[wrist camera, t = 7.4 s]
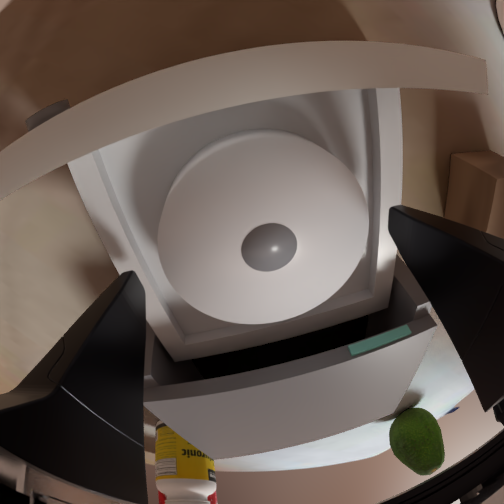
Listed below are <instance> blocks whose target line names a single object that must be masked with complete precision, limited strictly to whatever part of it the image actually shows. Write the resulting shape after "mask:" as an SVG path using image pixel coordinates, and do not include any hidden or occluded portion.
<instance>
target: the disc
mask: <svg viewBox="0 0 504 504" xmlns="http://www.w3.org/2000/svg"><path fill="white" fill-rule="evenodd" d="M368 230H369V212H368V207H367V202H366V199H365V196H364V193H363V190H362V188H361V186H360V185H359V183H358V181H357V179H356V178H355V176H354V175H353V174H352V172H351V171H350V170H349V169H348V168H347V167H346V166H345V165H344V164H343V163H342V162H341V161H340V160H339V159H338V158H336V157H335V156H333V155H332V154H330V153H329V152H327V151H326V150H324V149H323V148H321V147H320V146H318V145H317V144H315V143H313V142H312V141H310V140H309V139H307V138H304V137H302V136H300V135H298V134H295V133H291V132H288V131H284V130H277V129H269V128H268V129H250V130H243V131H239V132H235V133H232V134H229V135H226V136H224V137H221V138H219V139H217V140H215V141H213V142H211V143H210V144H208V145H207V146H205V147H204V148H202V149H201V150H199V151H198V152H197V153H196V154H195V155H194V156H192V157H191V158H190V159H189V160H188V162H187V163H186V164H185V165H184V166H183V167H182V168H181V170H180V171H179V173H178V175H177V176H176V178H175V179H174V181H173V183H172V185H171V188H170V190H169V192H168V195H167V199H166V202H165V205H164V208H163V212H162V215H161V219H160V223H159V228H158V237H157V241H158V253H159V258H160V263H161V266H162V268H163V271H164V273H165V276H166V277H167V279H168V281H169V283H170V284H171V286H172V287H173V288H174V289H175V291H176V292H177V293H178V294H179V295H180V296H181V297H182V298H183V299H184V300H185V301H186V302H187V303H189V304H190V305H191V306H193V307H194V308H195V309H197V310H199V311H201V312H203V313H204V314H207V315H209V316H211V317H214V318H216V319H220V320H223V321H227V322H232V323H238V324H266V323H273V322H278V321H283V320H286V319H290V318H293V317H296V316H298V315H301V314H303V313H305V312H307V311H309V310H311V309H313V308H315V307H317V306H318V305H320V304H321V303H323V302H324V301H326V300H327V299H328V298H329V297H331V296H332V295H333V294H334V293H335V292H337V291H338V290H339V289H340V288H341V287H342V286H343V285H344V283H345V282H346V281H347V280H348V279H349V277H350V276H351V274H352V273H353V271H354V270H355V268H356V267H357V265H358V263H359V261H360V259H361V257H362V254H363V252H364V249H365V246H366V242H367V237H368Z"/></svg>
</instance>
